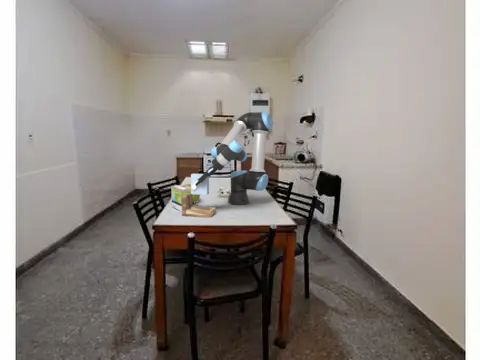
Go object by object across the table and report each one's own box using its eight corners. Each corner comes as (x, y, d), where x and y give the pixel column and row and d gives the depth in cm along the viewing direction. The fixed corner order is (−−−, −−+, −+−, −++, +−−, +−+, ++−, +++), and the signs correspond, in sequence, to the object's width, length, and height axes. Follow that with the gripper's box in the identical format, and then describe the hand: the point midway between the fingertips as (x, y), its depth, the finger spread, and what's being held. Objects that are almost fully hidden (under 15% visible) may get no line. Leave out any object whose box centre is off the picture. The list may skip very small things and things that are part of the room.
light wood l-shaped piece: (188, 211, 214) (188, 192, 212) (215, 212, 211) (216, 194, 209) (182, 215, 203) (181, 196, 201) (210, 217, 199) (210, 197, 197)
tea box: (171, 207, 224) (170, 185, 222) (184, 205, 230) (184, 184, 228) (180, 211, 212) (180, 188, 210) (195, 209, 218) (194, 187, 216)
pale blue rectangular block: (193, 192, 208) (193, 173, 206) (208, 193, 206) (209, 174, 204) (191, 194, 203) (190, 174, 202) (206, 194, 201) (206, 175, 200)
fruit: (193, 206, 227) (182, 187, 224) (180, 211, 236) (169, 192, 233) (207, 195, 239) (197, 177, 236) (194, 200, 248) (184, 182, 245)
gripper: (221, 168, 191) (193, 195, 196) (228, 165, 208) (202, 190, 213) (212, 158, 191) (184, 185, 196) (219, 156, 208) (194, 181, 213)
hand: (194, 187), depth 205 cm, fingers closed on pale blue rectangular block, 4 cm apart
